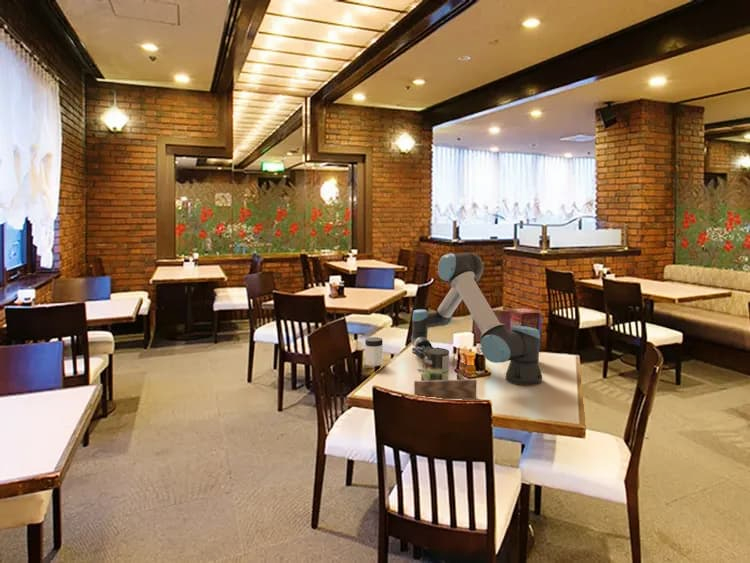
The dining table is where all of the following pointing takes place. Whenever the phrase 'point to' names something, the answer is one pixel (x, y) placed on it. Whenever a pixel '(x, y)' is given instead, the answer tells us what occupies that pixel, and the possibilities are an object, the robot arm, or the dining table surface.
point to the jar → (374, 351)
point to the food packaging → (524, 318)
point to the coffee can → (436, 363)
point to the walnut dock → (446, 387)
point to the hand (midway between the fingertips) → (432, 360)
